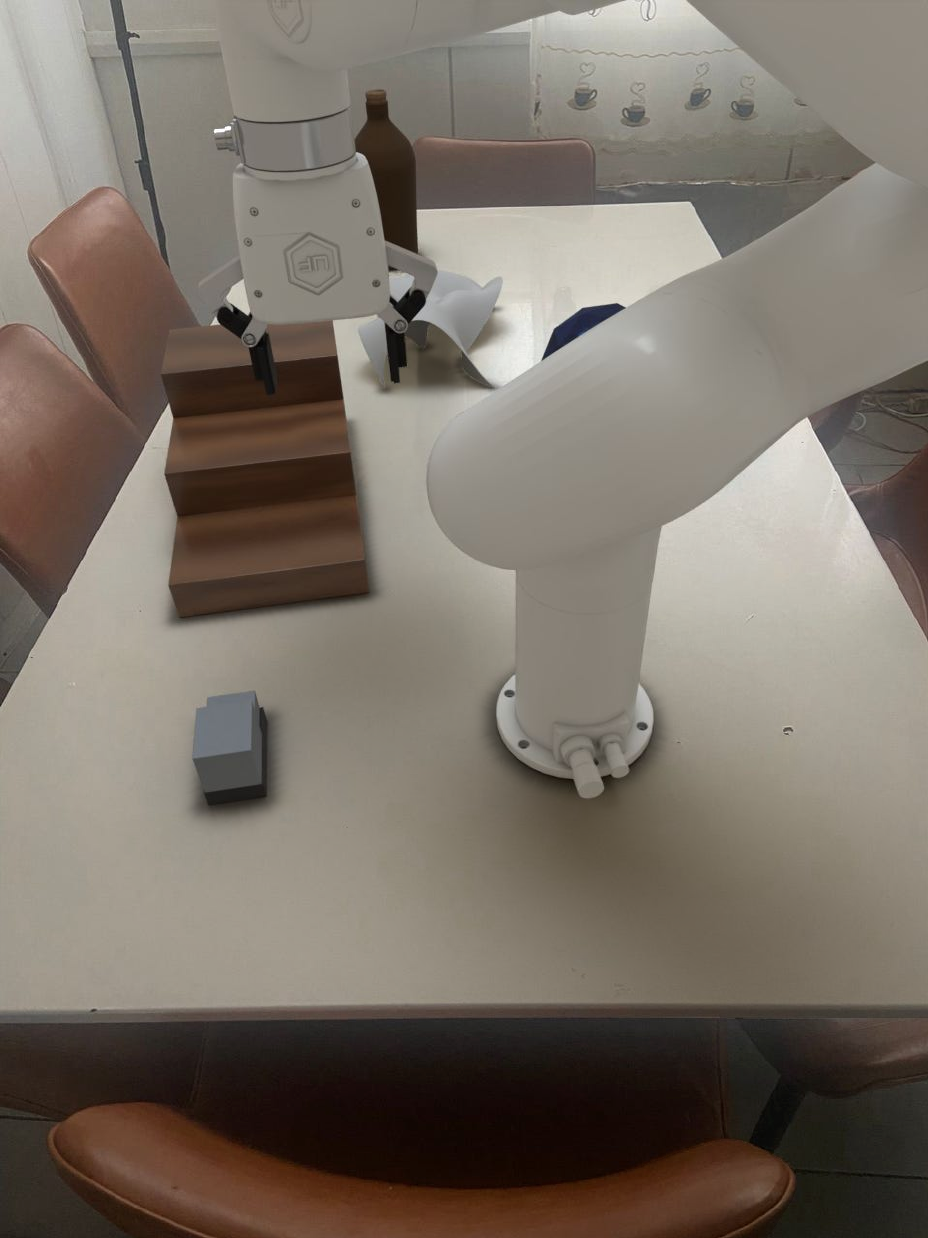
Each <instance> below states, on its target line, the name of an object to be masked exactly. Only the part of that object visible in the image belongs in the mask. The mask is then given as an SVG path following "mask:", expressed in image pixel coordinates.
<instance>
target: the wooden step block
mask: <svg viewBox="0 0 928 1238" xmlns="http://www.w3.org/2000/svg"><path fill="white" fill-rule="evenodd" d="M266 333H269V337H270V343H271V348H272V353H273V358H274V363H275V368H276V373H277V387H276V393H274V395H269V396H267V395H266V390H265V386H264V381H256V380H255V376H254V371H253V366H252V362H251V357H250V352H249V348H248V347H247V346H245V345H244V344H243V342H242V340H241V339H240V338H239V337H237V336H236V335H235V334H233V333H232V332H230V331H229V330H228V329H226V328H225V327H223V326H222V325H221V324H212V325H211V324H210V325H202V326H192V327H191V326H190V327H181V328H173V329H172V328H171V329H169V330H168V336H167V340H166V345H165V346H166V347H165V350H164V356H163V361H162V365H161V371H160V377H161V380H162V384H163V387H164V391H165V395H166V398H167V402H168V405H169V409H170V412H171V416H172V423H171V424H172V425H171V428H170V429H171V430H170V436H169V442H168V448H167V454H166V461H165V467H164V474H163V475H164V477H165V481H166V484H167V488H168V490H169V494H170V498H171V501H172V504H173V507H174V511H175V515H176V525H175V530H174V531H175V532H174V539H173V547H172V555H171V563H170V570H169V578H168V589H169V592H170V594H171V597H172V600H173V603H174V606H175V610H176V612H177V615H178V618H186V617H193V616H201V615H208V614H209V615H210V614H215V613H223V612H231V611H238V610H239V611H240V610H246V609H253V608H261V607H268V606H276V605H282V604H283V605H284V604H291V603H298V602H305V601H312V600H313V601H314V600H322V599H328V598H336V597H337V598H338V597H344V596H350V595H358V594H365V593H370V583H369V575H368V569H367V561H366V555H365V546H364V538H363V531H362V523H361V518H360V517H361V516H360V509H359V501H358V494H357V486H356V478H355V472H354V464H353V457H352V449H351V441H350V435H349V427H348V420H347V419H348V418H347V413H346V406H345V398H344V391H343V384H342V377H341V370H340V362H339V361H340V360H339V355H338V349H337V348H338V347H337V341H336V334H335V326H334V320H332V321H321V322H310V323H298V324H285V325H270V324H269V326H268V327H267V329H266Z"/></svg>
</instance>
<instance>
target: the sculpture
mask: <svg viewBox="0 0 928 1238" xmlns="http://www.w3.org/2000/svg"><path fill="white" fill-rule="evenodd" d="M437 272H438V273H437V277H436V279H435V281H434V284H433V286H432V288H431V291H430V293H429V294H428V296H427V299H426V304H425V306H424V307H423V308H422V309H421V310H420V312H419V313H418V314H417V315H416V316H415V317H414V319H413V320H412V321H411V322H410V323H409V324H408V328H407V330H406V331H405V332H404V333H405V338H408V339H409V340H411V341H412V342H414V344H416V346H417V347H418V348H420V349H425V348H427V347H428V333H429V327H430V323H431V324H432V325H435V326H436V327H438V328H439V329H441V330H442V332H444V333H445V334H446V335H448V336H449V338H450V339H451V340H452V341H453V342H454V343H455V344H456V345H457V346H458V347H459V349H460V353H461V355H460V356H461V367H462V369H463V371H464V373H466V374H467V375H468V376H469V377H471V378H472V379H473V380H475V381H477V382H479V383H482V384H483V385H486V386H488V387H491V388H493V389H495V386H493V385H492V384H491V383H490V382H489V381H488V380H487V379H486V378H485V376H483V374H482V373H481V372H480V370H479V368H478V367H477V366H476V365H475V364H474V363H475V362H473V360H472V359H471V357H470V356H469V354H468V350H469V349H470V347H471V346H472V345H473V343H474V342H475V341H476V339H477V338H478V336H479V335H480V333H481V331H482V330H483V329H484V326H485V325H486V324H487V322H488V319H489V318H490V316H491V315H492V313H493V310H494V309H495V307H496V303H497V302H498V299H499V297H500V294H501V291H502V287H503V283H504V282H503V281H504V280H503V277H502V276H497V277H494V278H493V279H490V281H488V282H487V283H486V284H485V285H484V286H483V287H482V286H481V285H480V284H478V283H477V281H475V280H474V279H471V277H468V276H466V275H463V274H460V273H456V272H451V271H447V270H443V269H438V268H437ZM413 280H414V276H412V275H410V274H406V275H401V276H400V275H399V276H396V277H389V282H390V293H391V294H392V295H393V296H394V297H395V298H396V299H397V300H398V301H399V300H400V299H401V298H402V297H403V296H404V294H405V293H406V292H407V291H408V290H409V288H410V287H411V286H412V284H413ZM376 317H377V319H375V320H373V321H370V322H368V323H365V324H362V325H361V324H360V325H358V326H357V333H358V336H359V339H360V341H361V344H362V346H363V348H364V351H365V353H366V355H367V357H368V360H369V361H370V363H371V365H372V367H373V369H374V371H375V373H376V375H377V377H378V379H379V381H380V383H381V385H382V387H383V390H386V386H385V385H386V384H385V362H386V355H387V353H388V352H387V343H386V333H385V324H384V321H383V320H382V319H381V318H380V317H379V316H378V315H377V314H376Z"/></svg>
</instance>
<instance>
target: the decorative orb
mask: <svg viewBox="0 0 928 1238" xmlns="http://www.w3.org/2000/svg"><path fill="white" fill-rule="evenodd" d="M625 308H626V306H624V305H622V304H621V303H618V302H615V303H607V304H601V305H592V306H585V307H581V308H580V309H578V311H576V312H575V313H574V314H572V315H571V316H569V317H568V318H566V319H565V320H564V321H563V322H561V323H559V324H558V325H557V326H556V327H554V328H553V329H552V333H551V335H550V338H549V340H548V343H547V344H546V347H545V350H544V352H543V355H542V357H541V359H540V362H541V361H542V360H544V359H545V358H547V357H548V356H550V355H551V354H553V353H554V352H556V351H557V350H559V349H560V348H562V347H564V346H565V345H567V344H568V343H570V342H571V341H573V340H574V339H576V338H578V337H579V336H581V335H582V334H584V333H585V332H587V331H588V330H590V329H592V328H593V327H595V326H596V325H598V324H600V323H601V322H603V321H605V320H606V319H608V318H610V317H611V316H613V315H615V314H616V313H618V312H620V311H621V310H623V309H625Z"/></svg>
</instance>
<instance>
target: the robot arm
mask: <svg viewBox="0 0 928 1238" xmlns="http://www.w3.org/2000/svg"><path fill="white" fill-rule="evenodd" d="M625 1H626V0H211V4H212V9H213V14H214V19H215V25H216V31H217V35H218V40H219V46H220V51H221V56H222V62H223V66H224V72H225V76H226V81H227V87H228V92H229V98H230V103H231V107H232V113H233V118H231V119H230V123H225V124H224V126H214V127H213V136H214V141H215V145H216V149H217V151H226V150H228V151H229V152H235V155H236V156H237V157H239V158H240V163H239V164H238V165H236V166H235V168H234V170H233V171H232V200H233V201H232V202H233V203H232V205H233V214H234V223H235V231H236V237H237V238H236V239H237V247H238V255H237V256H235V257H233V258H232V259H231V260H229V261H227V262H226V263H225V264H223V265H222V266H220V267H219V268H217V269H216V270H214V271H213V272H211V273H210V274H209V275H207V276H206V277H204V278H203V279H202V280H200V281H199V283H198V285H197V289H196V294H197V296H198V298H199V299H200V300H201V302H202V303H203V304H204V305H205V306H206V308H207V309H208V310H209V311H210V312H211V314H213V316H214V317H215V318H216V320H217V322H218V325H220V324H221V325H222V326H223V327H225V328H226V329H228V330H229V331H230V332H232V333H233V334H235V335H236V336H237V337H239V338H240V339H241V340H242V342H243V344H244V345H245V346H247V347H248V348H249V352H250V357H251V362H252V366H253V371H254V376H255V380H256V381H264V386H265V390H266V395H267V396H269V395H274V393H276V387H277V373H276V368H275V363H274V358H273V353H272V348H271V343H270V337H269V333H266V329H267V327H268V326H269V324H270V325H285V324H298V323H310V322H321V321H332V320H333V321H340V320H351V319H352V320H353V319H361V318H368V317H372V316H377V315H378V316H379V317H380V318H381V319H382V320H383V321H384V324H385V333H386V343H387V352H386V353H387V361H388V370H389V377H390V382H391V383H393V384H401V376H400V368H408V356H407V355H408V354H407V347H406V337H405V333H404V332H405V331H406V330H407V328H408V324H409V323H410V322H411V321H412V320H413V319H414V317H415V316H416V315H417V314H418V313H419V312H420V310H421V309H422V308H423V307H424V306H425V304H426V299H427V296H428V294H429V293H430V291H431V288H432V286H433V284H434V281H435V279H436V277H437V273H438V272H437V269H438V268H437V265H436V262H435V261H433V260H432V259H430V258H427V257H425V256H424V255H423V256H422V255H420V254H419V253H418V254H416V253H413V252H411V251H409V250H406V249H404V248H402V247H399V246H397V245H395V244H392V243H390V242H388V241H385V240H384V234H383V228H382V221H381V214H380V209H379V203H378V198H377V193H376V189H375V185H374V181H373V177H372V174H371V170H370V167H369V164H368V161H367V160H366V157H365V156H364V155H362V154H360V153H357V152H356V149H355V140H354V139H355V131H354V123H353V113H352V106H351V96H350V95H351V94H350V89H349V88H350V87H349V76H348V70H351V69H355V68H359V67H364V66H367V65H371V64H375V63H379V62H383V61H387V60H390V59H392V58H396V57H399V56H403V55H408V54H412V53H417V52H419V51H424V50H428V49H432V48H438V47H442V46H446V45H450V44H454V43H457V42H461V41H463V40H468V39H470V38H473V37H476V36H480V35H482V34H486V33H490V32H493V31H496V30H499V29H502V28H506V27H509V26H513V25H516V24H519V23H522V22H526V21H529V20H533V19H536V18H539V17H544V16H547V15H550V14H553V13H557V12H561V13H563V14H566V15H569V16H577V15H581V14H585V13H588V12H591V11H594V10H598V9H602V8H605V7H608V6H611V5H615V4H617V3H621V2H625ZM685 1H686V2H687V3H688V4H690V5H691V6H692V7H693V8H694V9H695V10H696V11H697V12H699V14H700V15H701V16H702V17H704V18H705V19H706V20H707V21H708V22H709V23H710V24H712V25H713V26H714V27H715V28H716V29H717V30H718V31H720V33H722V34H723V35H724V36H725V37H726V38H728V39H729V40H730V41H731V42H732V43H733V44H735V45H736V46H737V47H738V48H739V49H740V50H741V51H743V52H744V53H745V54H746V55H747V56H748V57H750V59H752V60H753V61H754V62H755V63H756V64H758V65H759V66H760V68H762V69H763V70H765V71H766V72H767V73H768V74H769V75H770V76H772V78H773V79H775V80H776V81H777V82H779V83H780V84H781V85H782V86H783V87H784V88H786V90H788V91H789V92H790V93H791V94H793V95H794V96H795V97H796V98H797V99H798V100H799V101H801V102H802V103H803V104H804V105H806V107H808V108H809V110H811V111H812V112H813V113H815V114H816V115H817V116H818V117H819V118H820V119H821V120H822V121H824V122H825V124H827V125H828V126H829V127H830V128H831V129H833V131H835V132H836V133H837V134H838V135H840V137H842V138H843V139H844V140H846V141H847V142H848V143H849V144H851V146H853V147H854V148H855V149H856V150H858V151H859V152H860V153H862V154H863V155H864V156H866V157H867V158H869V159H870V160H871V161H873V162H875V163H873V164H871V165H870V166H868V167H866V168H865V169H863V170H862V171H860V172H859V173H858V174H856V175H854V176H853V177H851V178H850V179H848V180H847V181H845V182H843V183H842V184H839V186H837V187H835V188H834V189H833V190H832V191H830V192H828V193H827V194H826V195H825V196H824V197H822V198H821V199H819V200H818V201H817V202H815V203H814V204H812V205H811V206H809V207H808V208H806V209H804V210H802V211H801V212H800V213H798V214H796V215H795V216H793V217H791V218H790V219H788V220H786V221H785V222H784V223H782V224H780V225H778V226H777V227H775V228H774V229H772V230H770V231H769V232H767V233H766V234H764V235H762V236H760V237H759V238H757V239H755V240H754V241H752V242H750V243H749V244H746V245H745V246H743V247H741V248H740V249H738V250H735V251H734V252H732V253H729V254H728V255H727V256H725V257H722V258H720V259H719V260H717V261H715V262H712V263H710V264H707V265H705V266H703V267H700V268H698V269H695V270H693V271H691V272H689V273H688V272H687V273H686V274H684V275H682V276H679V277H677V278H675V279H673V280H672V281H670V282H668V283H666V284H665V285H663V286H661V287H659V288H657V289H655V290H653V291H652V292H651V293H649V294H647V295H645V296H644V297H642V298H640V299H638V300H637V301H635V302H633V303H631V304H630V305H628V306H627V307H626V306H625V307H626V308H625V309H623V310H621V311H620V312H618V313H616V314H615V315H613V316H611V317H610V318H608V319H606V320H605V321H603V322H601V323H600V324H598V325H596V326H595V327H593V328H592V329H590V330H588V331H587V332H585V333H584V334H582V335H581V336H579V337H578V338H576V339H574V340H573V341H571V342H570V343H568V344H567V345H565V346H564V347H562V348H560V349H559V350H557V351H556V352H554V353H553V354H551V355H550V356H548V357H547V358H545V359H544V360H542V359H541V360H542V361H541V360H540V361H539V362H538V363H536V364H535V365H533V366H532V367H530V368H528V369H527V370H526V371H524V372H522V373H521V374H519V375H518V376H516V377H515V378H513V379H511V381H509V382H507V383H506V384H504V385H502V386H501V387H500V388H498V389H496V390H494V391H493V392H491V394H489V395H487V396H485V397H484V398H483V399H481V400H479V401H478V402H477V403H475V404H473V405H472V406H471V407H469V408H467V409H466V410H463V411H462V412H461V413H459V414H457V415H456V416H455V417H454V418H452V419H451V420H450V421H449V422H448V423H447V424H446V425H445V426H444V427H443V428H442V429H441V431H440V433H439V434H438V436H437V437H436V440H435V441H434V443H433V445H432V447H431V450H430V454H429V457H428V462H427V465H426V475H425V476H426V479H425V480H426V483H425V484H426V485H425V486H426V494H427V495H426V496H427V499H428V504H429V507H430V508H429V509H430V510H431V514H432V517H433V519H434V520H435V522H436V524H437V526H438V527H439V529H440V531H441V532H442V533H443V535H444V536H445V537H446V538H447V539H448V541H450V542H451V544H452V545H454V546H455V547H456V548H457V549H458V550H459V551H461V552H462V553H463V554H464V555H466V556H468V557H470V558H471V559H473V560H475V561H477V562H480V563H482V564H484V565H487V566H490V567H492V568H493V567H494V568H496V569H501V570H508V571H509V570H510V571H511V570H512V571H515V629H514V630H515V631H514V633H515V635H514V636H515V637H514V638H515V640H514V641H515V645H514V646H515V649H514V651H515V658H514V659H515V661H514V662H515V663H514V665H515V666H514V667H515V668H514V669H515V671H514V674H513V675H511V676H510V677H509V679H508V680H507V681H506V682H505V684H504V685H503V686H502V689H501V690H500V692H499V694H498V698H497V701H496V706H495V707H496V708H495V710H496V711H495V718H496V727H497V731H498V733H499V736H500V738H501V741H502V742H503V744H504V745H505V746H506V748H507V749H508V751H509V752H510V753H512V755H514V757H516V758H517V759H518V760H519V761H520V762H522V763H524V764H525V765H527V767H529V768H531V769H534V770H536V771H538V772H540V773H542V774H545V775H549V776H553V777H556V778H560V779H571V780H573V782H574V785H575V788H576V791H577V794H578V795H579V797H580V798H583V799H593V798H596V797H598V796H600V795H601V794H602V793H603V792H604V790H605V785H604V782H603V780H602V777H606V776H609V775H611V777H613V778H615V779H620V778H624V777H626V776H627V775H628V774H629V772H630V767H629V765H631V764H633V763H634V762H635V761H636V760H637V759H638V758H640V756H641V755H642V754H643V753H644V751H645V750H646V748H647V747H648V745H649V743H650V739H651V737H652V735H653V728H654V721H655V720H654V718H655V717H654V707H653V704H652V701H651V698H650V697H649V694H648V693H647V692H646V690H645V688H644V687H643V686H642V685H641V684H640V676H641V669H642V662H643V655H644V654H643V653H644V647H645V640H646V634H647V633H646V632H647V625H648V619H649V609H650V604H651V596H652V587H653V583H654V577H655V569H656V565H657V564H656V563H657V556H658V551H659V543H660V538H661V532H662V528H663V526H666V525H667V524H670V523H671V522H674V521H675V520H678V519H679V518H681V517H683V516H685V515H686V514H688V513H690V512H691V511H693V510H695V509H696V508H698V507H699V506H701V505H702V504H703V503H706V502H707V501H708V500H710V499H711V498H712V497H714V496H715V495H717V494H719V492H720V491H722V490H723V489H724V488H725V487H726V486H728V485H729V484H730V483H731V482H732V481H733V480H734V479H736V477H738V476H739V475H740V474H741V473H742V472H743V471H745V470H746V469H747V468H748V467H750V465H751V464H752V463H754V462H755V461H756V460H757V459H758V458H759V457H761V456H762V455H763V454H764V453H765V452H766V451H768V449H770V448H771V447H772V446H773V445H774V444H776V443H777V442H778V441H780V439H782V437H784V436H785V435H787V433H788V432H789V431H790V430H792V429H793V428H794V427H795V426H796V425H797V424H799V423H801V422H802V421H803V420H804V419H807V418H808V417H810V416H811V415H813V414H815V413H817V412H819V411H821V410H823V409H825V408H827V407H829V406H832V405H834V404H835V403H838V402H840V401H842V400H844V399H846V398H849V397H851V396H854V395H855V394H858V393H860V392H862V391H865V390H867V389H869V388H872V387H874V386H877V385H879V384H881V383H884V382H886V381H888V380H889V379H892V378H894V377H896V376H898V375H900V374H903V373H904V372H906V371H908V370H910V369H912V368H915V367H916V366H919V365H922V364H923V363H925V362H927V361H928V0H685ZM388 266H391V267H393V268H395V269H394V270H397V271H400V272H403V273H405V274H406V275H412V276H414V280H413V284H412V286H411V287H410V288H409V290H408V291H407V292H406V293H405V294H404V296H403V297H402V298H401V299H400V300H399V301H398V300H397V299H396V298H395V297H394V296H393V295H392V294H391V293H390V282H389V278H390V273H389V271H390V270H388ZM241 281H243V284H244V289H245V294H246V299H247V304H248V307H249V312H248V314H247V313H245V312H244V311H242V310H241V309H239V308H238V307H237V306H236V305H234V304H233V303H231V302H230V301H229V300H228V299H227V297H226V295H225V294H224V293H225V292H226V291H228V290H229V289H231V288H232V287H234V286H236V285H237V284H238V283H239V282H241Z"/></svg>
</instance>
